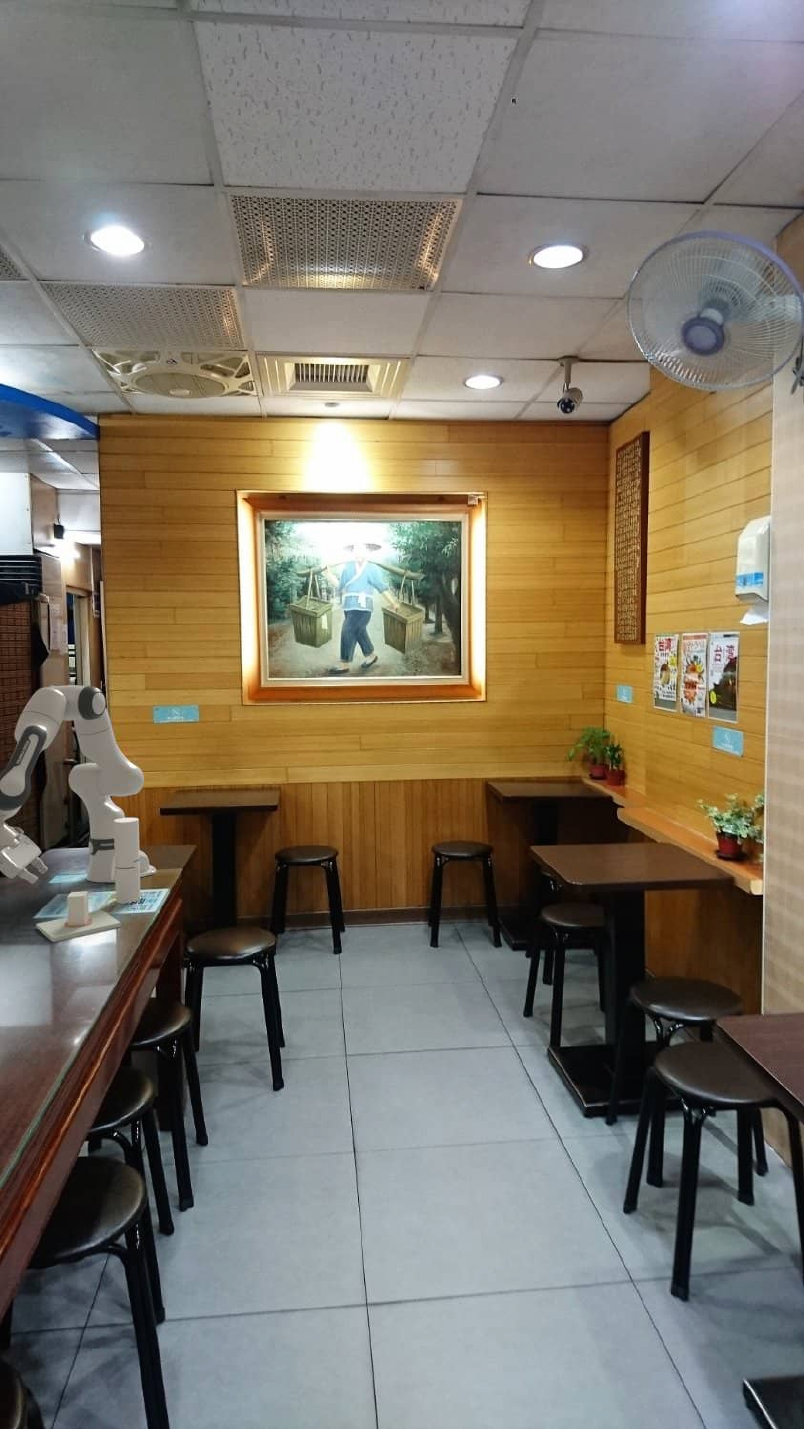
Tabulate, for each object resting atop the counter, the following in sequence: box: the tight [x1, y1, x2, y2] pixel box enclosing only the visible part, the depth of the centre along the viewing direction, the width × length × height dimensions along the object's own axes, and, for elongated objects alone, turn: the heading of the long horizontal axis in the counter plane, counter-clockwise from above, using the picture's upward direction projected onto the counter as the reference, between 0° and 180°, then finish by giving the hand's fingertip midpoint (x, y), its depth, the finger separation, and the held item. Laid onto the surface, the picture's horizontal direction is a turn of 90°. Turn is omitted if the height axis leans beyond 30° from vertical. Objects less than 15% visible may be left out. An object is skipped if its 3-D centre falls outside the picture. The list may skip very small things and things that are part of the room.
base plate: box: [35, 909, 122, 943], centre depth 215 cm, size 18×14×6 cm
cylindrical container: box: [114, 817, 141, 904], centre depth 238 cm, size 7×7×25 cm
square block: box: [66, 890, 90, 926], centre depth 215 cm, size 4×4×8 cm
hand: (40, 876), depth 212 cm, fingers open, 8 cm apart
